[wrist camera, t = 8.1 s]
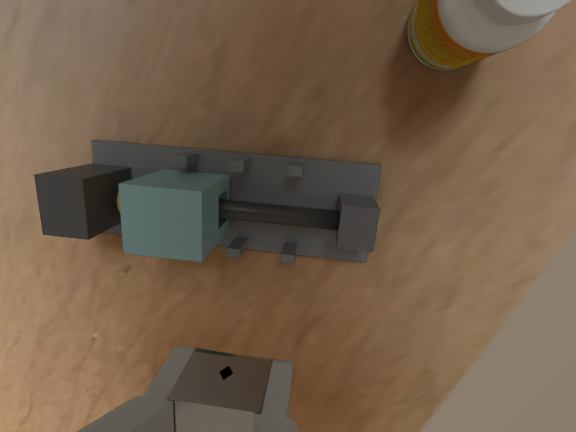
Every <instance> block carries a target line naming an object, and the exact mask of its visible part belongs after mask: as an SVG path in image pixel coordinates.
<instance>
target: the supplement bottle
mask: <svg viewBox="0 0 576 432" xmlns="http://www.w3.org/2000/svg"><path fill="white" fill-rule="evenodd" d="M570 1H571V0H417V1H416V2H415V4H414V6H413V8H412V11H411V14H410V17H409V21H408V40H409V44H410V47H411V49H412V51H413V53H414V54H415V56H416V57H417V58H418V59H419V60H420V61H421V62H422V63H423V64H425V65H426V66H428V67H431V68H433V69H438V70H453V69H457V68H460V67H464V66H466V65H469V64H471V63H474V62H476V61H479V60H481V59H484V58H486V57H489V56H492V55H494V54H497V53H499V52H502V51H505V50H508V49H510V48H513V47H515V46H517V45H519V44H521V43H523V42H525V41H527V40H528V39H530V38H531V37H533V36H534V35H535V34H537V33H538V32H539V31H540V30H541V29H542V28H543V27H544V26H546V24H547V23H548V22H549V21H550V20H551V19H552V17H553V16H554V15H555V13H556V12H557V10H558V9H560V8H562V7H563V6H564V5H566V4H567V3H569V2H570Z"/></svg>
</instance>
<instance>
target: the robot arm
mask: <svg viewBox="0 0 576 432" xmlns="http://www.w3.org/2000/svg"><path fill="white" fill-rule="evenodd" d="M292 373H293V361H285V360H277V359H266V358H258V357H251V356H243V355H235V354H229V353H223V352H216V351H210V350H204V349H198V348H197V349H195V348H189V347H183V346H177V347H176V348H174V349H173V350H172V352H171V353H170V355H169V356H168V358H167V360H166V361H165V363H164V364H163V366H162V367H161V369H160V370H159V372H158V374H157V375H156V377H155V378H154V380H153V381H152V383H151V384H150V386H149V388H148V389H147V391H146V392H145V394H144V395H143V396H135V397H134V398H132V399H130V400H129V401H127V402H125V403H124V404H122V405H120V406H119V407H117V408H115V409H114V410H112V411H110V412H109V413H107V414H105V415H104V416H102V417H100V418H99V419H97V420H95V421H94V422H92V423H90V424H89V425H87V426H85V427H84V428H82V429H80V430H79V431H77V432H299V430H298V428H297V426H296V425H295V423H294V421H293V419H288V415H289V405H290V394H291V384H292Z"/></svg>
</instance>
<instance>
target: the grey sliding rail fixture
mask: <svg viewBox="0 0 576 432" xmlns="http://www.w3.org/2000/svg"><path fill="white" fill-rule="evenodd" d="M91 141H92V151H93V162H94V163H92V164H87V165H82V166H77V167H72V168H66V169H61V170H56V171H51V172H46V173H40V174H35V175H34V176H35V183H36V190H37V197H38V204H39V211H40V218H41V225H42V231H43V235H51V236H60V237H69V238H78V239H87V240H89V239H91V238H93V237H95V236H97V235H99V234H101V233H104V234H113V235H122V227H121V214H120V200H119V186H118V184H119V183H122V182H125V181H128V180H132V179H135V178H138V177H141V176H144V175H147V174H151V173H154V172H157V171H160V170H163V169H172V170H182V171H193V172H204V173H215V174H226V175H230V196H229V200H227V199H219V218H221V219H229V231H228V232H227V233H226V234H225V236H224V237H223V238H222V239H221V240H220V241H219V243H218V244H217V245H216V246H222V247H227V257H232V258H241V256H242V254H243V253H244V251H245V249H249V250H258V251H267V252H276V253H281V263H285V264H294V263H295V258H296V255H303V256H312V257H321V258H330V259H339V260H348V261H357V262H366V261H367V255H368V251H369V252H373V249H374V242H375V236H376V230H377V224H378V217H379V211H380V208H379V206H378V205H377V203H376V197H377V190H378V184H379V177H380V171H381V165H379V164H367V163H356V162H344V161H333V160H322V159H310V158H299V157H287V156H276V155H264V154H253V153H241V152H230V151H218V150H207V149H195V148H184V147H172V146H161V145H150V144H138V143H127V142H115V141H104V140H91Z"/></svg>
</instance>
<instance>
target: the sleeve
mask: <svg viewBox="0 0 576 432" xmlns="http://www.w3.org/2000/svg"><path fill="white" fill-rule="evenodd" d="M118 186H119V200H120V214H121V227H122V241H123V253H125V254H133V255H142V256H151V257H159V258H168V259H177V260H185V261H194V262H202V261H203V260H204V259H205V258H206V257H207V256H208V254H209V253H210V252H211V251H212V250H213V248H214V247H215V246H216V245H217V244H218V243H219V241H220V240H221V239H222V238H223V237H224V236H225V234H226V233H227V232H228V231H229V219H221V218H219V199H227V200H229V196H230V175H226V174H215V173H204V172H193V171H182V170H172V169H163V170H160V171H157V172H154V173H151V174H147V175H144V176H141V177H138V178H135V179H132V180H128V181H125V182H122V183H119V184H118Z"/></svg>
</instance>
